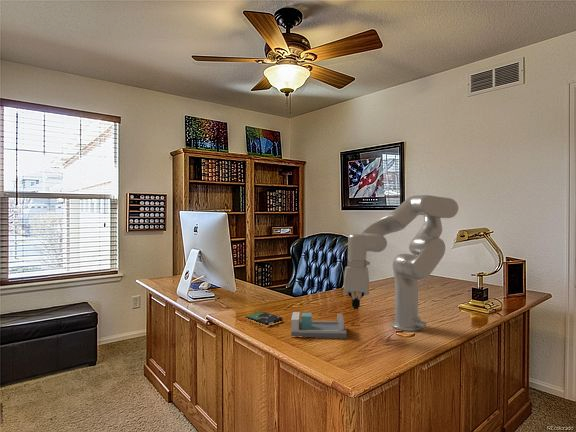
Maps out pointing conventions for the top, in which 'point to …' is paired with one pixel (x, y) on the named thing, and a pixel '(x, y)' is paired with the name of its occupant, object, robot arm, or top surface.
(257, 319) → the disk drive
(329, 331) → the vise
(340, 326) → the block
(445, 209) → the robot arm
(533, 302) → the top surface
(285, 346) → the top surface
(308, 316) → the teal block
